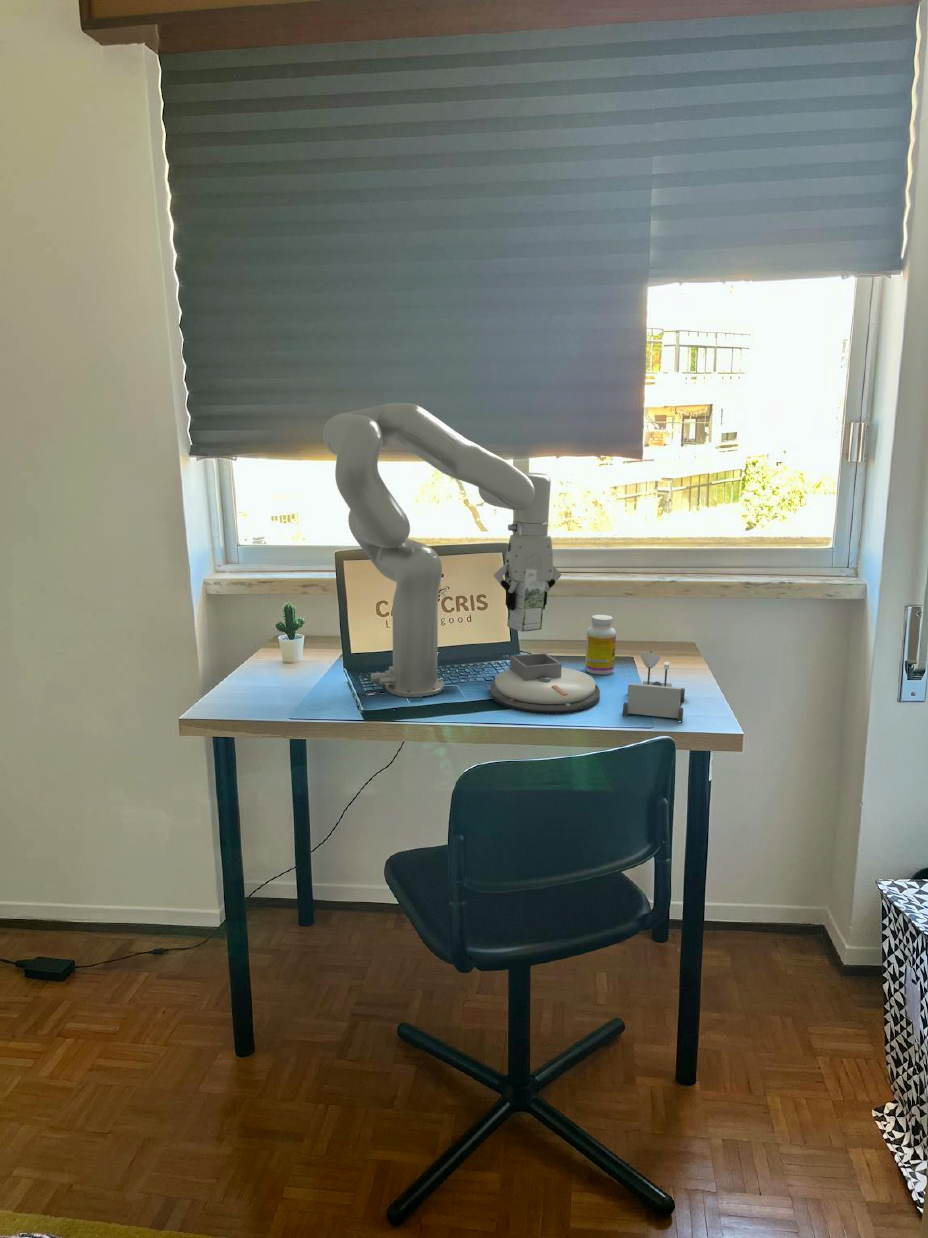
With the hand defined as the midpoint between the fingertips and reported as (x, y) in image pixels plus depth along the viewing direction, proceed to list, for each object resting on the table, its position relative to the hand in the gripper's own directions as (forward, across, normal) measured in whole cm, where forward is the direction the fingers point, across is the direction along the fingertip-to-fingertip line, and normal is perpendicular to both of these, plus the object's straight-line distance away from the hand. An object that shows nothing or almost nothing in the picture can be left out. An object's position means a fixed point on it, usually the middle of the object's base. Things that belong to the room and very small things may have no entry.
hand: (525, 607), depth 204 cm
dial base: (+15, -2, -17) cm, 23 cm away
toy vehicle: (+15, +18, -29) cm, 37 cm away
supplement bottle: (+15, +17, -5) cm, 23 cm away
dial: (+13, -2, -17) cm, 21 cm away
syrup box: (+5, 0, 0) cm, 5 cm away
